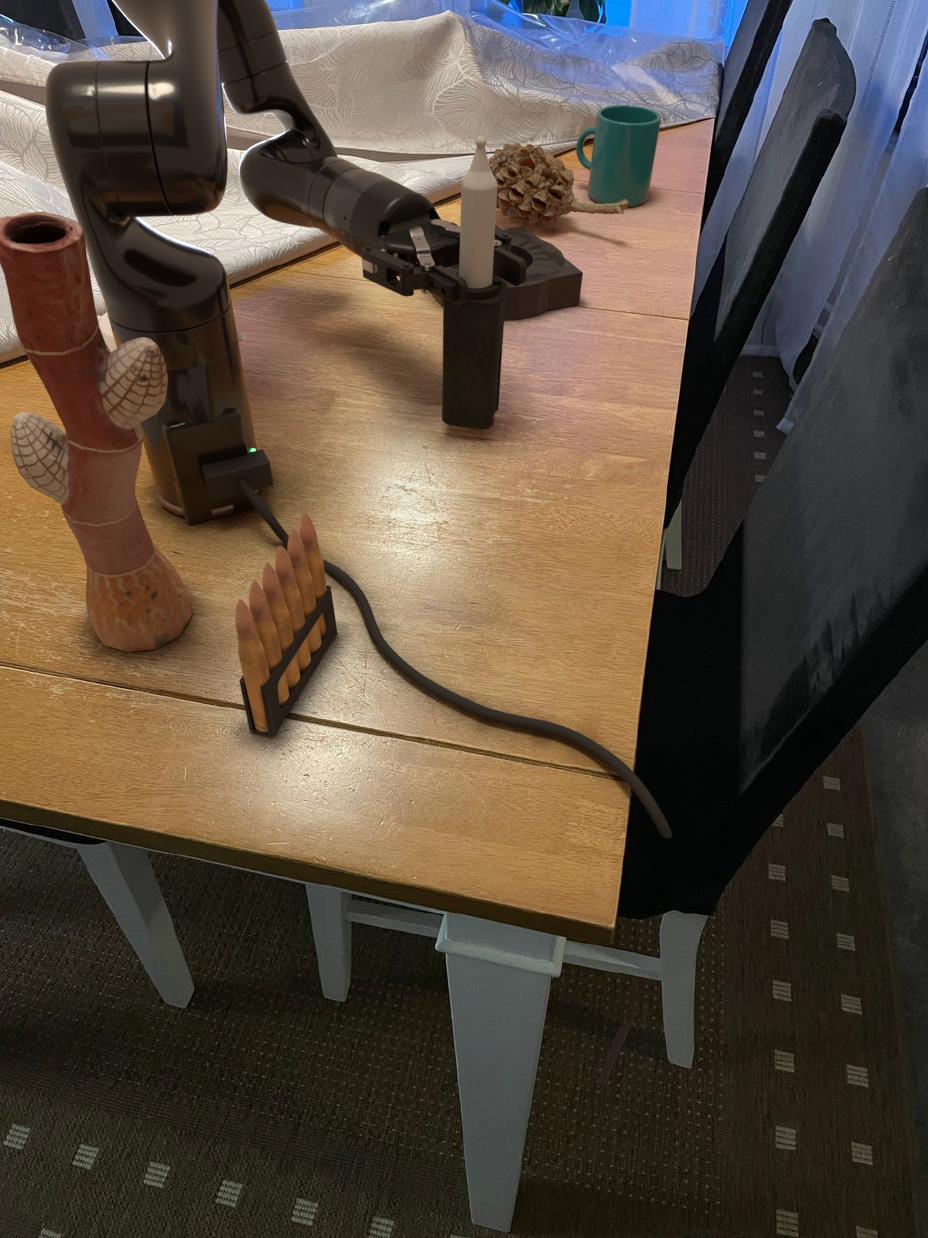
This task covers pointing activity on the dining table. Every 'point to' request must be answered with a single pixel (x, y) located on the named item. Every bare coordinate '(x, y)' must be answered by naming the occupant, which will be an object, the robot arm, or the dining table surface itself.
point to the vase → (90, 430)
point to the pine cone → (538, 187)
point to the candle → (475, 308)
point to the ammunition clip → (284, 630)
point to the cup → (621, 153)
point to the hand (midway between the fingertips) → (493, 283)
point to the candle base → (538, 278)
